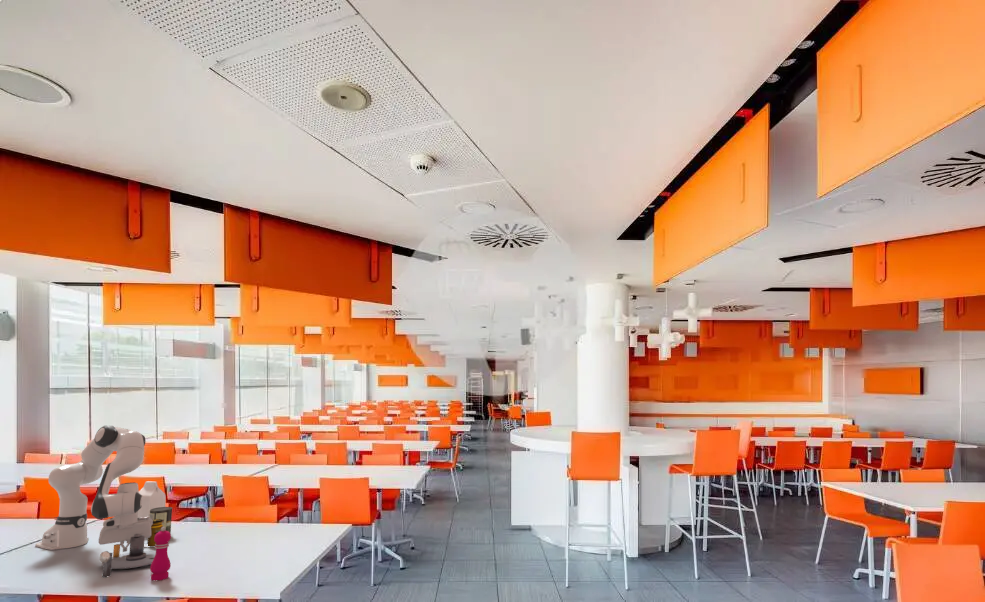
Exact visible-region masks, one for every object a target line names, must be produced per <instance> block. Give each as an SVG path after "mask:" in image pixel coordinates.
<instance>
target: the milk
mask: <svg viewBox="0 0 985 602" xmlns="http://www.w3.org/2000/svg"><path fill="white" fill-rule="evenodd" d="M139 494H141V495H142V499H141V505H142V507H141V508H140V509H139V510H138V518H142V517H150V510H151V509H154V508H159V507H166V496H167V495H166V493H165V492H164V491H163V490H162V489H161V488H160V487H159V485H158V481H151V480H150V481H149V480H148V481H145V482H144V485H143V487H142V488H141V489H140V490H139Z"/></svg>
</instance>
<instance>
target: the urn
mask: <svg viewBox="0 0 985 602" xmlns="http://www.w3.org/2000/svg"><path fill="white" fill-rule="evenodd" d="M145 539H146V538H145V536H144V535H142V534H135V535H134V536H133V537H131V539H130V544H129V551H128V553H129V555H127V556H126V560H127V561H136V560H141V559H144V558H146V553H144V551H145V550H144V549H145V548H144V544H145Z"/></svg>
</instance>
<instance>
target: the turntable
mask: <svg viewBox="0 0 985 602" xmlns="http://www.w3.org/2000/svg"><path fill="white" fill-rule="evenodd" d="M120 551H121V545H120V543H116V544H113V552H112V564H111V570H113V569H114V570H123V569H124V570H125V569H132V568H133V569H135V568H139V567H145V566H149V565H150V566H151V564H152V562H153V560H154V557H155V554H156V550H144V553H146V558H144V559H141V560H136V561H127V560H126V556H127V555H129V552H125V553H120ZM101 566H102V567H103V563H102V562H101Z"/></svg>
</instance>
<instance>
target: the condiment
mask: <svg viewBox="0 0 985 602" xmlns="http://www.w3.org/2000/svg"><path fill="white" fill-rule="evenodd" d="M162 527H163V525H162V519H153V524H152V526H151V536H150V537H149V538H147V543H146V544H148V546H155V544H156V542H155V541H154V537H155V535H156V534H157V533H158V532H160V531H161V528H162Z"/></svg>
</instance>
